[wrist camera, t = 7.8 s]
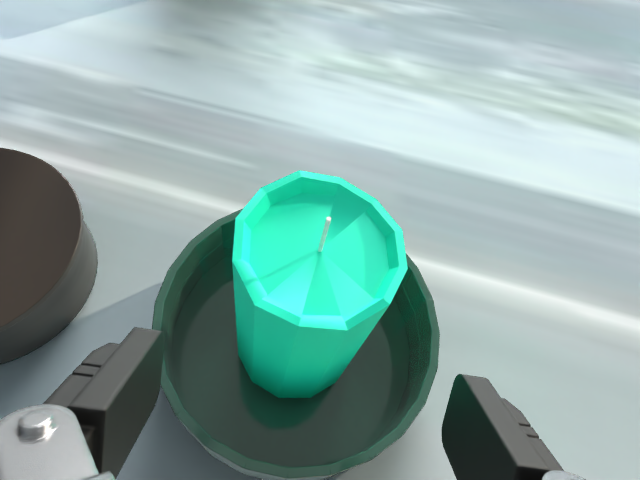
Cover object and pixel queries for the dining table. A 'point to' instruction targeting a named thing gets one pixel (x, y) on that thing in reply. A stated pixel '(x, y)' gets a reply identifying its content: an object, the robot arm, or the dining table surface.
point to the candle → (311, 280)
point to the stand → (40, 254)
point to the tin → (287, 413)
